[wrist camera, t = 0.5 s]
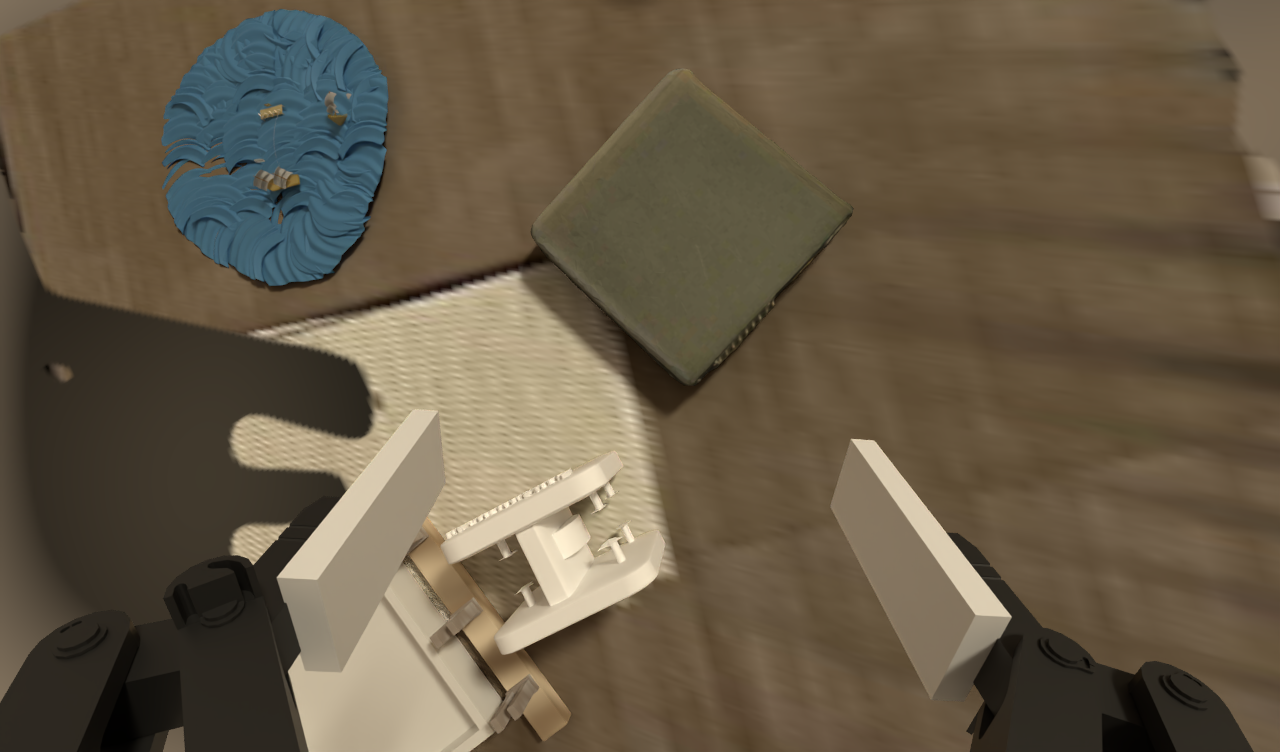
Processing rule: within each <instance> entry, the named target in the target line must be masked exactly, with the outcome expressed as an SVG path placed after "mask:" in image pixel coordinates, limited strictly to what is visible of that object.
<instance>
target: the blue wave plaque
mask: <svg viewBox="0 0 1280 752" xmlns="http://www.w3.org/2000/svg"><path fill="white" fill-rule="evenodd" d="M378 68H379V67H378V66H377V65H376V64H375V62H374V59H373V56H372V55H371V54H370V53H369V51H368V49H367V48H366V46H365V45H364V44H363V43H362V41H361V40H360V39H359V38H358V37H357V36H355V35H354V34H352V33H350V32H349V31H348V30H347V28H346V27H343V26H342V25H341V24H340V23H337V22H335V21H333V20H332V19H330V18H327V17H324V16H320V15H318V16H316V15H313V14H308V13H306V12H305V11H302V12H301V11H298V10H292V11H288V10H284V9H280V10H278V11H275V10H274V11H270V12H265V13H264V15H263V16H260V17H256V18H249V19H246V20H244V21H243V22H242V23H240V25H239V26H238V27H237V28H234V29H231V30H229V31H227V33H226V35H224V38H222V39H218V40H217V41H216V42H215V44H214V45H212V46H210V47H207V48H205V49H204V51H203V53H202V54H201V55H199V56H198V59H197V63H196V64H195V65H193V66H192V67H191V70H190V71H189V72H188V73H187V74H185V75H184V76H183V79H182V82H181V84H180V89H177V90H176V94H175V95H174V96H172V97H171V98H172V100H171V101H170V102H169V103H168V104H167V105H166V109H165V114H164V119H170V120H169V121H168V122H167V123H166V124H165V125H164V135H163V136H162V145H163V146H167V145H168V144H170V143H172V142H174V141H176V140H179V139H183V138H191V139H195V140H191V139H187V140H181V141H178V142H176V143H175V144H173V145H172V146H171V147H170V148H168V149H167V151H166V152H168V151H169V150H171V149H173V148H175V147H177V146H179V145H183V144H195V145H184V146H180V147H178V148H176V149H174V150H173V151H171V152H170V153H169V154H168V155H167V156H166V158H165V159H164V160H163V162H162V164H163V165H164V167H165V166H166V165H168V164H169V163H171V162H172V163H171V164H170V165H169V167H170V166H171V165H172V164H173V163H174V162H175V161H176V160H179V159H183V160H182V161H180V162H179V163H177V164H176V165H175V166H174V167H173V168H172V170H171V171H170V173H169V174H168V176H167V178H166V180H165V182H164V184H163V186H162V188H163V189H164V187H165V186H166V184H167V182H168V181H169V179H170V178H171V177H172V175H173V174H174V173H175V172H176V171H177V170H178V169H179V168H180V167H181V166H182V165H183V164H185V163H186V162H188V161H189V160H191V161H193V162H196V163H197V164H199V165H201V166H202V167H204V166H205V165H204V163H206V162H207V161H208V160H210V159H212V158H213V157H215V156H217V155H220V156H219V157H217V158H221V157H224V159H225V161H226V163H223V164H220V165H216V166H214V167H212V168H210V169H201V168H198V169H192V170H190V171H187V172H186V173H184V174H183V175H181V176H180V177H179V178H178V179H177V180H176V181H175V183H174V184H173V185H172V186H171V188H170V189H169V191H168V193H167V194H166V198H167V200H168V209H169V211H170V213H171V215H172V216H173V217H174V219H175V220H174V223H175V224H176V226H177V227H178V228H179V229H180V230H181V232H182V233H183V234H184V235H185V236H186V238H187V239H188V240H190V241H192V242H194V244H196V245H197V246H198V247H199V248H200V249H201V251H202V253H204V254H205V255H206V256H208V257H210V258H211V259H213V260H214V262H216V263H217V264H219V263H220V264H222V265H224V266H226V267H228V268H229V266H228V263H230V264H231V265H233V266H234V267H236V269H237V270H238V271H239V272H240V273H242V274H244V275H247V276H249V277H250V278H251V279H253V280H255V278H256V279H258V280H261V281H263V282H264V280H265V281H266V282H267V284H268V285H269V286H277V285H285V284H288V283H289V282H296V281H300V282H303V281H310V280H317V279H321V278H323V274H329V273H335V272H334V271H332V269H333V268H334V267H335V266H336V265H337V264H338V263H339V262H340V260H341V256H342V254H343V253H345V252H346V251H347V249H348V248H349V247H350V246H351V245H353V244H354V243H355V241H356V240H357V239H358V238H359V237H360V236H361V233H362V232H363V231H364V230H365V228H364V226H363V223H364V222H366V221H367V220H369V219H370V217H371V216H368V217H364V216H365V215H366V213H367V210H368V203H369V202H371V201H373V199H372V197H373V196H374V191H375V190H376V187H377V185H378V183H379V182H380V177H381V175H382V170H383V164H384V157H385V153H386V149H385V147H384V146H383V145H382V143H383V142H384V134H383V132H384V131H386V130H387V129H386V128H385V126H386V125H387V123H386V115H387V112H388V110H387V102H388V89H387V77H385V76H383V75H381V72H382V71H381V70H379V69H378ZM216 138H217V139H216ZM214 139H215V140H214ZM212 140H213V141H212ZM211 141H212V142H211ZM220 142H222V144H219V145H217V146H215V147H213V148H212V149H211V147H212V146H213V145H215V144H217V143H220ZM196 145H198V146H196ZM202 147H203V148H204V149H203V148H202ZM210 149H211V150H210ZM206 150H207V151H209V150H210V151H209V152H207V151H206ZM166 152H165V153H166ZM217 158H216V159H217ZM214 160H215V159H214ZM214 160H213V161H214ZM237 163H248V164H246V165H245V166H244V167H242V166H241V165H238V164H237ZM234 166H237V167H242V168H240V169H239V170H237V171H236V172H235V173H233V174H232V175H229V174H228V175H217V176H212V177H209V178H207V177H199V176H200V175H202V174H205V173H211V171H212V170H214V169H218V168H221V167H227V169H228V171H229V173H230V171H231V170H232V168H233V167H234ZM167 169H168V168H167ZM250 189H257V190H250ZM281 192H282V196H283V198H282V199H281V200H280V201H279V202H278V204H277V205H276V204H275V202H277V197H278V195H279V194H280V193H281ZM273 207H275V209H274V211H273V214H272V208H273ZM280 210H282V212H283V215H284V218H283V220H282V224H278V217H279V213H280ZM271 216H272V217H271ZM270 217H271V222H270V220H269V218H270ZM218 231H219V232H218ZM217 233H218V234H217ZM183 234H182V235H183ZM216 235H217V237H216ZM215 238H216V239H215ZM214 242H215V243H214Z"/></svg>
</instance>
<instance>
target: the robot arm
mask: <svg viewBox="0 0 1280 752" xmlns="http://www.w3.org/2000/svg"><path fill="white" fill-rule="evenodd" d="M445 483H446V482H445V472H444V462H443V452H442V442H441V432H440V422H439V412H438V411H432V410H417V409H413V410H412V412H411V413H410V414H409V415H408V417H407V418H406V419H405V420H404V421H403V423H402V424H401V425H400V426H399V428H398V429H397V430H396V431H395V433H394V434H393V435H392V436H391V437H390V439H389V440H388V441H387V442H386V444H385V445H384V446H383V447H382V449H381V450H380V451H379V452H378V453H377V455H376V456H375V457H374V458H373V460H372V461H371V462H370V463H369V465H368V466H367V467H366V468H365V469H364V471H363V472H362V473H361V474H360V476H359V477H358V478H357V479H356V481H355V482H354V483H353V484H352V485H351V487H350V488H349V489H348V490H347V492H346V493H345V494H344V495H343V497H328V496H323V497H322V498H320V499H318V500H317V501H315V502H314V503H312V504H311V505H309V506H308V507H306V508H304V509H303V510H302V511H301V512H300V514H299V515H298V516H297V517H296V518H295V519H294V520H293V521H292V523H291V524H290V527H289V528H288V527H287V528H286V529H285V530H284V532H283V533H282V534H281V535H280V536H279V539H278V540H276V541H275V542H274V543H273V544H272V545H271V546H270V547H269V548H268V549H267V551H266V552H265V553H264V554H263V555H262V556H261V557H260V558H259V560H258V561H257V562H256V563H255V564H254V565H252V563H251V562H250V561H249V559H247V558H244V557H241V556H238V555H235V556H221V557H217V558H213V559H209V560H206V561H204V562H201V563H199V564H197V565H195V566H193V567H190V568H189V569H188V570H186V571H185V572H183V573H182V574H181V575H179V576H177V577H176V578H175V579H174V581H173V582H172V583H171V584H170V585H169V586H168V587H167V589H166V592H165V595H164V598H163V599H164V601H165V604H166V606H167V608H168V610H169V612H170V614H171V617H172V619H168V620H164V621H158V622H153V623H148V624H143V625H138V626H134V624H133V622H132V620H131V619H130V617H129V616H128V615H127V614H126V613H125V612H121V611H116V610H108V611H101V612H94V613H92V614H88V615H86V616H83V617H80V618H77V619H75V620H73V621H71V622H69V623H67V624H65V625H63V626H61V627H59V628H57V629H56V630H54V631H53V632H52V633H50V634H49V635H48V636H46V637H45V638H44V639H42V640H41V641H40V642H39V643H38V644H37V645H36V647H35V648H34V649H33V650H32V651H31V652H30V654H29V655H28V657H27V658H26V660H25V662H24V664H23V665H22V667H21V669H20V670H19V672H18V674H17V675H16V677H15V679H14V681H13V682H12V684H11V686H10V687H9V689H8V691H7V693H6V694H5V696H4V697H3V699H2V701H1V703H0V752H163V749H164V745H165V742H166V738H167V735H168V732H169V730H171V729H175V728H178V727H182V726H184V741H185V752H309V751H308V747H307V743H306V739H305V735H304V731H303V727H302V723H301V719H300V715H299V711H298V707H297V703H296V699H295V695H294V691H293V687H292V683H291V679H290V676H289V673H288V671H289V669H290V668H291V666H292V665H293V663H294V661H295V660H296V658H297V657H298V655H299V654H300V656H301V659H302V662H303V665H304V669H305V671H318V672H340V673H341V672H342V671H343V669H344V667H345V665H346V663H347V662H348V660H349V658H350V656H351V654H352V652H353V651H354V649H355V647H356V645H357V643H358V641H359V640H360V638H361V636H362V634H363V632H364V631H365V629H366V627H367V625H368V623H369V621H370V620H371V618H372V616H373V614H374V612H375V610H376V609H377V607H378V605H379V603H380V601H381V600H382V598H383V596H384V594H385V592H386V590H387V589H388V587H389V585H390V583H391V581H392V579H393V578H394V576H395V574H396V572H397V570H398V569H399V567H400V565H401V563H402V561H403V559H404V558H405V556H406V554H407V552H408V550H409V548H410V547H411V545H412V543H413V541H414V539H415V538H416V536H417V534H418V532H419V530H420V528H421V527H422V525H423V523H424V521H425V519H426V517H427V516H428V514H429V512H430V510H431V508H432V507H433V505H434V503H435V501H436V499H437V497H438V496H439V494H440V492H441V490H442V488H443V486H444V485H445ZM830 507H831V509H832V511H833V513H834V515H835V517H836V519H837V521H838V522H839V524H840V526H841V528H842V530H843V532H844V534H845V536H846V538H847V540H848V542H849V543H850V545H851V547H852V549H853V551H854V553H855V555H856V557H857V559H858V561H859V563H860V565H861V566H862V568H863V570H864V572H865V574H866V576H867V578H868V580H869V582H870V584H871V586H872V587H873V589H874V591H875V593H876V595H877V597H878V599H879V601H880V603H881V605H882V607H883V609H884V610H885V612H886V614H887V616H888V618H889V620H890V622H891V624H892V626H893V628H894V630H895V631H896V633H897V635H898V637H899V639H900V641H901V643H902V645H903V647H904V649H905V651H906V653H907V654H908V656H909V658H910V660H911V662H912V664H913V666H914V668H915V670H916V672H917V674H918V676H919V677H920V679H921V681H922V683H923V685H924V687H925V689H926V691H927V693H928V695H929V697H930V698H931V700H943V701H965V699H966V697H967V695H968V693H969V692H970V690H971V688H972V686H973V685H975V686H976V688H977V689H978V691H979V693H980V694H981V696H982V697H983V699H984V702H983V704H982V706H981V707H980V709H979V711H978V712H977V714H976V716H975V717H974V719H973V721H972V723H971V724H970V726H969V728H968V729H967V732H968V733H970V734H971V735H972V734H973V733H974V735H973V739H972V744H971V749H970V752H1253V750H1252V748H1251V746H1250V745H1249V743H1248V741H1247V740H1246V738H1245V736H1244V734H1243V733H1242V731H1241V729H1240V728H1239V726H1238V724H1237V722H1236V721H1235V719H1234V717H1233V716H1232V714H1231V712H1230V710H1229V709H1228V707H1227V706H1226V705H1225V704H1224V702H1223V701H1222V700H1221V699H1220V697H1219V696H1218V695H1217V694H1216V693H1214V692H1213V691H1212V690H1211V689H1210V688H1209V687H1208V686H1206V685H1205V684H1204V683H1203V682H1201V681H1200V680H1198V679H1197V678H1195V677H1193V676H1192V675H1190V674H1189V673H1187V672H1185V671H1183V670H1181V669H1178V668H1176V667H1174V666H1172V665H1169V664H1165V663H1161V662H1157V661H1152V662H1145V663H1144V664H1143V666H1142V667H1141V668H1140V669H1139V670H1138V672H1137V673H1136V674H1135V675H1134V674H1131V673H1127V672H1124V671H1121V670H1118V669H1115V668H1111V667H1108V666H1105V665H1102V664H1098V663H1096V662H1095V661H1094V659H1093V658H1092V657H1091V655H1090V654H1089V653H1088V652H1087V651H1086V650H1084V649H1083V648H1082V647H1081V646H1080V645H1079V644H1077V643H1076V642H1075V641H1073V640H1071V639H1070V638H1068V637H1066V636H1065V635H1063V634H1061V633H1058V632H1056V631H1053V630H1051V629H1048V628H1043V627H1042V626H1041V625H1040V624H1039V623H1038V621H1037V620H1036V619H1035V618H1034V617H1033V615H1032V614H1031V613H1030V612H1029V610H1028V609H1027V608H1026V607H1025V606H1024V604H1023V603H1022V602H1021V601H1020V600H1019V598H1018V597H1017V596H1016V595H1015V594H1014V592H1013V591H1012V590H1011V589H1010V587H1009V586H1008V585H1007V584H1006V583H1005V581H1004V580H1001V577H1000V575H999V574H998V573H997V572H996V571H995V569H994V568H993V567H990V563H989V562H988V561H987V560H986V558H985V557H984V556H983V555H982V554H981V552H980V551H979V550H978V549H977V548H976V547H975V546H974V545H972V544H971V543H970V542H968V541H967V540H966V539H965V538H963V537H962V536H961V535H959V534H958V533H946V532H945V531H944V529H943V528H942V527H941V526H940V524H939V523H938V522H937V520H936V519H935V518H934V517H933V515H932V514H931V513H930V511H929V510H928V509H927V508H926V506H925V505H924V504H923V502H922V501H921V500H920V499H919V497H918V496H917V495H916V493H915V492H914V491H913V490H912V488H911V487H910V486H909V485H908V483H907V482H906V481H905V479H904V478H903V477H902V476H901V474H900V473H899V472H898V470H897V469H896V468H895V467H894V465H893V464H892V463H891V461H890V460H889V459H888V458H887V456H886V455H885V454H884V452H883V451H882V450H881V449H880V447H879V446H878V445H877V443H876V442H875V441H873V440H859V439H851V441H850V444H849V447H848V450H847V454H846V457H845V460H844V463H843V467H842V470H841V473H840V476H839V480H838V483H837V486H836V489H835V493H834V496H833V499H832V502H831V506H830Z"/></svg>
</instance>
